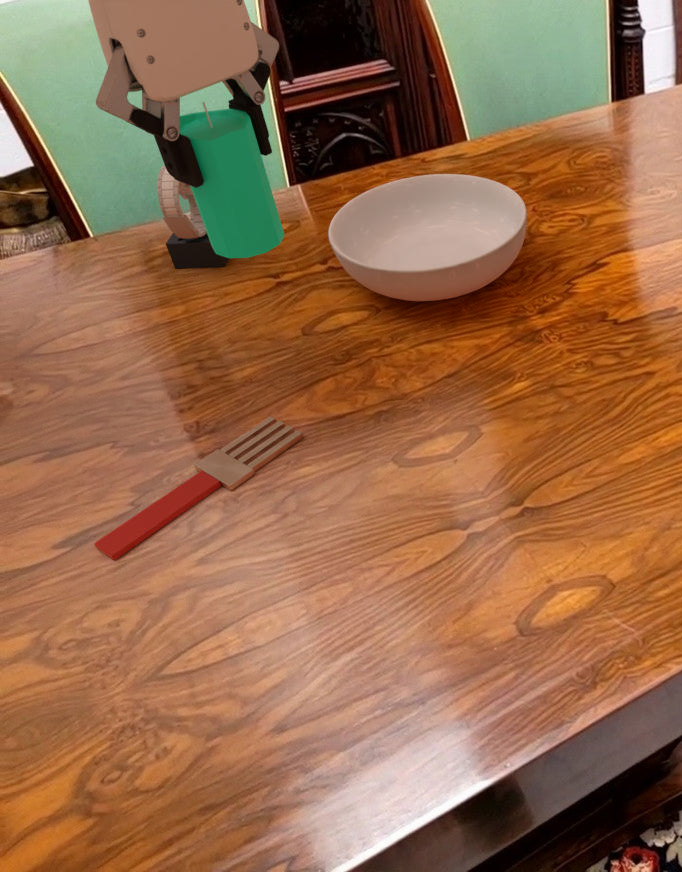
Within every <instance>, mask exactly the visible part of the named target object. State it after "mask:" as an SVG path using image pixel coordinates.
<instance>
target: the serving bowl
mask: <svg viewBox="0 0 682 872" xmlns="http://www.w3.org/2000/svg"><path fill="white" fill-rule="evenodd" d="M527 224H528V211H527V206H526V204H525V202H524V200H523V198H522V197H521V195H520V194H518V192H516V190H514V189H512V188H511V187H509V186H507V185H505V184H504V183H501V182H498V181H496V180H492V179H490V178H487V177H482V176H476V175H472V174H471V175H470V174H462V173H461V174H457V173H435V174H434V173H433V174H423V175H416V176H410V177H405V178H400V179H396V180H393V181H390V182H387V183H383V184H381V185H378V186H376V187H373V188H371V189H369V190H366V191H364V192H361V193H360V194H359V195H357V196H355V197H354V198H353V199H351V200H349V201H347V203H345V204H344V205H343V206H342V207H341V208H339V210H338V211H337V212H336V213H335V215H334V216H333V217H332V219H331V221H330V223H329V226H328V231H327V235H328V242H329V245H330V247H331V249H332V251H333V254H334V255H335V258H336V259H337V260H338V262H339V264H340V265H341V267H342V268H343V269H344V270H345V272H346V273H347V274H348V275H349V276H350V277H351V278H352V279H353V280H354V281H356V282H358V284H360V285H361V286H363V287H365V288H367V289H368V290H370V291H372V292H375V293H377V294H378V295H382V296H384V297H387V298H392V299H395V300H396V299H397V300H402V301H411V302H434V301H435V302H436V301H442V300H448V299H453V298H457V297H461V296H465V295H467V294H470V293H472V292H473V293H474V292H475V291H478V290H479V289H482V288H483V287H486V286H487V285H489V284H491V283H493V282H494V281H496V280H497V279H498V278H499V277H500V276H501V275H503V274H504V273H505V272H506V271H507V270H508V269H509V268H510V267H511V266H512V264H513V263H514V261H516V259H517V257H518V255H519V254H520V252H521V249H522V247H523V245H524V242H525V238H526V235H527V234H526V232H527Z"/></svg>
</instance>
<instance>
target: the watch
mask: <svg viewBox="0 0 682 872" xmlns="http://www.w3.org/2000/svg"><path fill="white" fill-rule="evenodd" d="M156 187H157V189H156V190H157V196H158V204H159V208H160V210H161V213H162V216H163V217H162V219H163V222H165V224H166V225H167V227H168V229H169V230H170V231H171V232H172V233H171V235H170V237H169V238H168V239H167V240H166V242H165V246H166V249H167V251H168V254H169V256H170V259H171V262H172V264H173V267H174V269H197V268H198V269H205V268H225V267H226V266H227V263H228V261H229V260H230V258H227V257H224V256H221V255H217V254H216V253H215V251H214V250H213V248H212V246H211V243H210V240H209V237H208V235H207V232H206V229H205V226H204V223H203V221H202V218H201V215H200V212H199V209H198V207H197V204H196V201H195V198H194V195H193V192H192V190H191V187H190V185H188V184H185V183H182V182H180V181H177V180H175V179H174V178H173V177H172V176H171V175H170V174H169V173H168V171H167V169H166V167H165V165H162V166H161V169H160V170H159V173H158V175H157V181H156ZM180 197H181V198H182V199H183V200H185V201H187V200H188V204H189V205H188V206H189V212H190V214H189V217H188V215H187V214H184V213H183V210H182V206H181V202H180Z"/></svg>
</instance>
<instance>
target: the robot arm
mask: <svg viewBox="0 0 682 872" xmlns="http://www.w3.org/2000/svg"><path fill="white" fill-rule="evenodd" d="M88 5H89V9H90V12H91V17H92V20H93V23H94V26H95V30H96V33H97V37H98V41H99V43H100V46H101V50H102V53H103V57H104V59H105V62H106V65H107V69H106V72H105V74H104V77H103V80H102V83H101V85H100V88H99V91H98V93H97V96H96V99H95V105H96V107H97V108H98V109H99V110H101V111H103V112H105V113H108V114H109V115H111V116H113V117H116V118H118V119H120V120H122V121H125V122H126V123H128V124H130V125H133V126H134V127H136V128H138V129H140V130H142V131H144V132H145V133H148V134H150V135H153V137H154V140H155V142H156V145H157V148H158V151H159V154H160V156H161V159H162V162H163V164H164V166H165V167H166V169H167V171H168V173H169V174H170V175H171V176H172V177H173V178H174V179H175V180H177V181H180V182H182V183H185V184H188V185H190V186H193V187H195V188H197V187H200V186H202V185H203V183H204V179H203V176H202V173H201V170H200V167H199V164H198V161H197V158H196V156H195V153H194V150H193V147H192V144H191V141H190V139H189V138H188V137H187V136H184V135H181V134H180V116H181V98H183V97H185V96H188V95H190V94H193V93H195V92H196V93H197V92H199V91H201V90H204V89H206V88H209V87H213V86H214V85H216V84H219V83H221V82H222V83H223V85H224V87H225V88H226V89H227V90H228V92H229V93H230V95H231V96H232V98H231V99H229V100H228V109H236V110H240V111H244V112H246V113H247V114H248V115H249V116H250V119H251V123H252V126H253V130H254V133H255V136H256V140H257V143H258V146H259V150H260V153H261V156H265V157H266V156H268V155H271V154H273V149H272V145H271V142H270V139H269V138H270V132H269V128H268V126H267V122H266V118H265V115H264V112H263V109H262V108H263V107H262V105H263V104H264V103H265V101H266V94H265V92H264V91H265V88H266V86H267V84H268V82H269V78H270V76H271V73H272V72H271V71H272V70H271V66H273V64H274V62H275V59H276V57H277V54H278V52H279V50H280V43H279V41H278V39H276V38H275V37H273V36H272V35H270V33H267V32H266V31H265V30H263V29H262V28H261V27H260V26H258V25H257V24H255V23H254V22H252V21H251V18H250V14H249V11H248V9H247V5H246V3H245V0H88ZM134 92H141V108H140V107H137V106H136V105H135V104H132V103H131V102H130V101H129V100H128V94H129V93H134Z"/></svg>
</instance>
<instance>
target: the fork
mask: <svg viewBox="0 0 682 872" xmlns="http://www.w3.org/2000/svg"><path fill="white" fill-rule="evenodd" d="M303 438H304V434H303V432H302V431H300V430H298V429H296V430H294V427H292V426H291V425H286V423H285V422H283V421H281V420H277V419H276V418H275V417H273V416H272V415H269V416H268V417H266V418H265V419H263V420H262V421H260V422H259V423H256V425H254V426H252V427H251V428H250V429H248V430H246V431H245V432H244V433H243V434H241V435H239V436H238V437H237V438H235V439H233V440H231V442H229V443H228V444H226V445H224V446H223V447H222V448H220V449H219V448H216V449H215V450H213V451H212V452H211V453H209V454H207V455H206V456H205V457H203V458H201V459H200V460H198V461H197V462H196V463H194V464H193V467H194V469H195V470H196V471H198V472H197V473H196V474H194V475H193V476H191V477H190V478H189V479H187V480H185V481H184V482H182V483H180V485H178V486H177V487H174V489H172V490H171V491H169V492H168V493H166V494H165V495H164V496H162V497H160V498H159V499H157V500H156V501H154V502H153V503H152V504H150V505H149V506H147V507H145V508H144V509H143V510H141V511H139V512H138V513H136V514H135V515H134V516H132V517H130V518H129V519H128V520H126V521H125V522H123V523H122V524H121V525H119V526H118V527H115V529H113V530H112V531H110V532H108V533H107V534H105V535H104V536H102V537H101V538H100V539H98V540H97V541H95V542H94V543H93V544H94V546H95V548H96V550H99V551H100V552H101V553H103V554H104V555H106V556H107V557H108V558H110V559H111V560H112V561H116V560H118V559H119V558H120V557H122V556H123V555H125V554H127V553H128V552H129V551H131V550H132V549H133V548H135V547H136V546H138V545H139V544H141V543H142V542H143V541H145V540H146V539H148V538H149V537H150V536H152V535H153V534H155V533H156V532H158V531H159V530H160V529H162V528H164V527H166V525H168V524H169V523H171V522H172V521H173V520H175V519H176V518H178V517H179V516H180V515H182V514H183V513H185V512H187V511H188V510H190V509H191V508H192V507H193V506H195V505H197V503H199V502H200V501H201V502H202V500H204V499H205V498H207V497H208V496H209V495H211V494H213V492H215V491H216V490H218V489H219V488H221V487H224V488H225V489H227V490H229V491H231V492H232V491H234V490H235V489H236V488H238V487H239V486H241V485H242V484H243V483H245V482H247V481H248V480H249V479H250V478H252V477H253V476H254V475H256V472H257V471H258V470H260V469H262V468H263V467H264V466H265V465H267V464H268V463H269V462H271V461H272V460H274V459H275V458H277V457H279V455H281V454H282V453H284V452H285V451H287V450H288V449H289V448H291V447H293V446H294V445H295V444H297V443H298V442H300V441H301V440H302V439H303Z"/></svg>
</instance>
